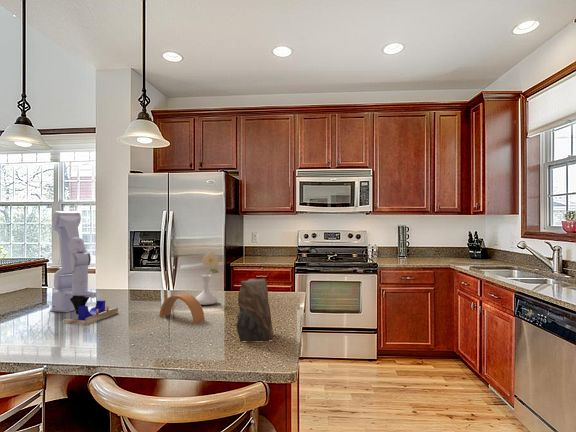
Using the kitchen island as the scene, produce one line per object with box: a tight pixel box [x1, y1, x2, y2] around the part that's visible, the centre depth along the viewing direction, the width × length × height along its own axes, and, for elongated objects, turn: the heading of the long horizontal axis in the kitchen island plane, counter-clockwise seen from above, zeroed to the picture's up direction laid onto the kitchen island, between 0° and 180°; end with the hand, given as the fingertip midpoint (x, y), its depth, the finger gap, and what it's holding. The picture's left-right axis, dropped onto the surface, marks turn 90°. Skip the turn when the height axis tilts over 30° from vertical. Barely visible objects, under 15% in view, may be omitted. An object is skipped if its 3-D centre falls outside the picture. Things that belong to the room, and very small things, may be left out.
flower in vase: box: [195, 252, 220, 306], centre depth 175 cm, size 13×11×25 cm
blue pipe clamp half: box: [77, 299, 106, 321], centre depth 150 cm, size 12×4×6 cm, turn 170°
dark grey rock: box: [236, 277, 274, 342], centre depth 128 cm, size 13×13×20 cm
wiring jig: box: [62, 305, 119, 325], centre depth 150 cm, size 11×18×4 cm, turn 168°
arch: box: [159, 293, 205, 325], centre depth 149 cm, size 6×20×10 cm, turn 60°
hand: (79, 314), depth 151 cm, fingers closed
